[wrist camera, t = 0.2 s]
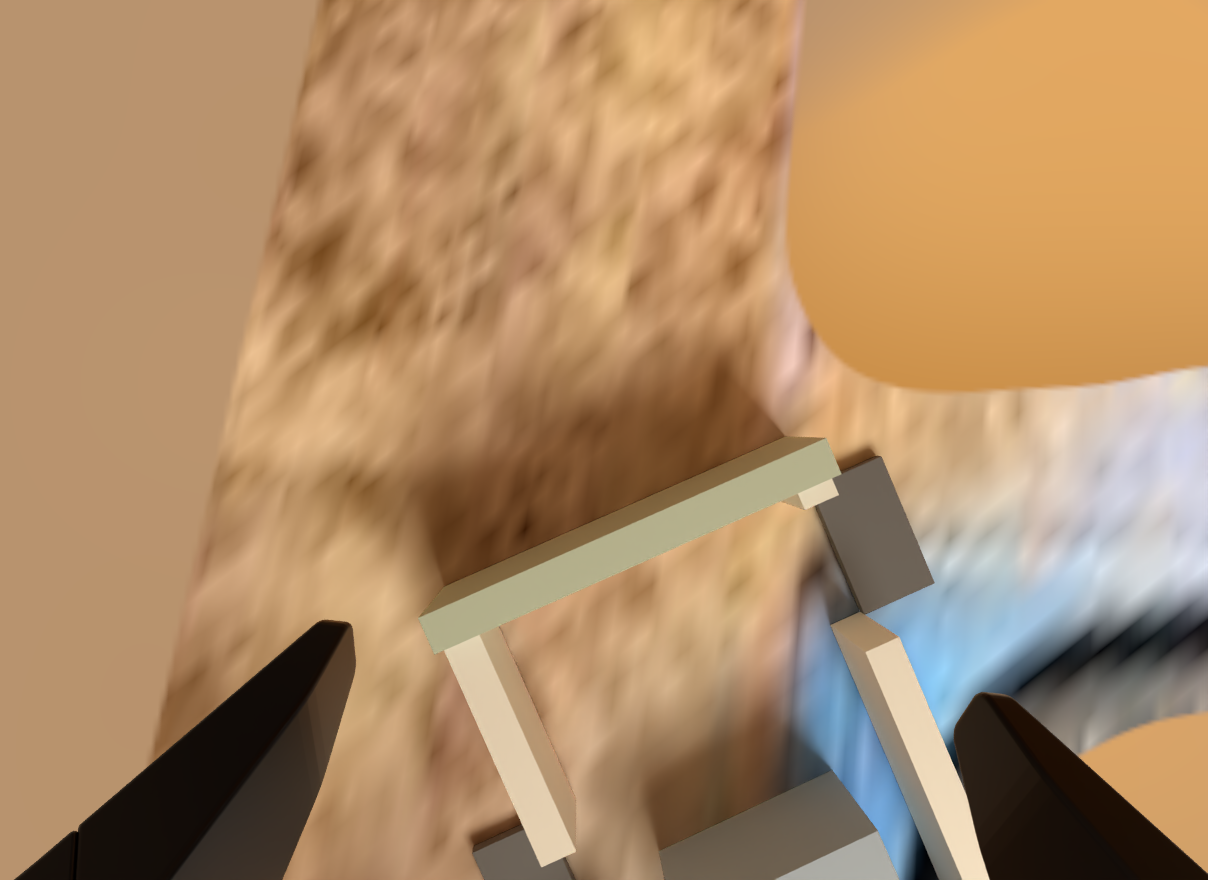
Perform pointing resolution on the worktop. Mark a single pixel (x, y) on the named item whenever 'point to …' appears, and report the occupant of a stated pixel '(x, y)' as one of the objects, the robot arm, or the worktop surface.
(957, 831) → the trap lane
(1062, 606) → the worktop surface
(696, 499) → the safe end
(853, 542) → the block
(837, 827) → the slate block
